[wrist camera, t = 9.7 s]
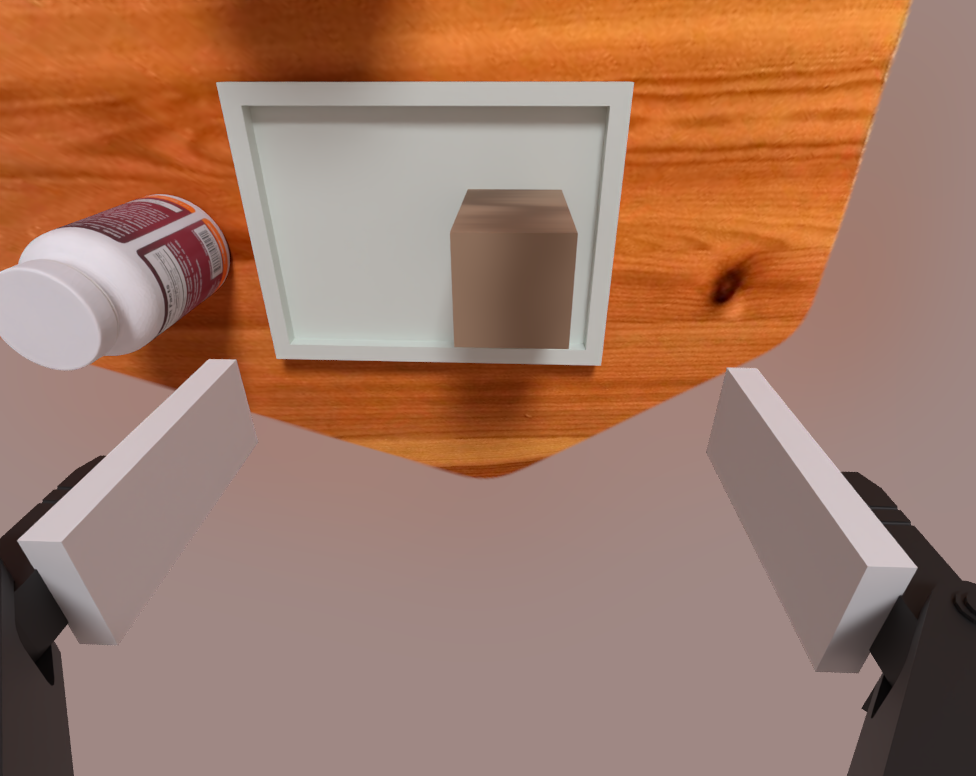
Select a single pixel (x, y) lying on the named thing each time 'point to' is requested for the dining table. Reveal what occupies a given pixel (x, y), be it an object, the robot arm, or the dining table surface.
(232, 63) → the dining table surface
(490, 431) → the dining table surface
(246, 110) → the tray
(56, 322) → the pill bottle
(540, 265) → the walnut block
